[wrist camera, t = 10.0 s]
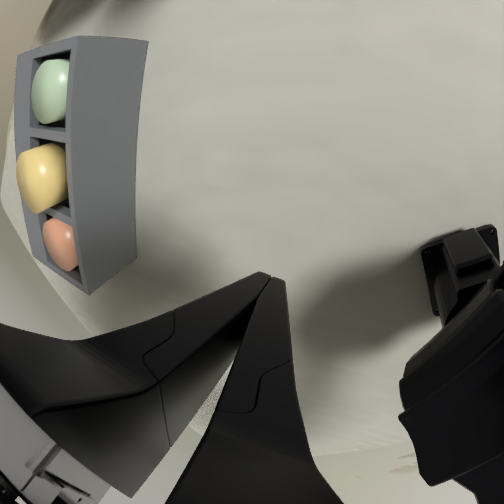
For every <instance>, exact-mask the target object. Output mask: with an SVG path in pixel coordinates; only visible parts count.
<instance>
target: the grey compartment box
mask: <svg viewBox="0 0 504 504" xmlns="http://www.w3.org/2000/svg"><path fill="white" fill-rule="evenodd" d="M147 47H148V41H145V40H137V39H127V38H116V37H101V36H76V37H72V38H68V39H64V40H61V41H57V42H54V43H51V44H48V45H44V46H41V47H38V48H35V49H33V50H30V51H27V52H24V53H22V54H19V55H18V56H17V66H16V78H15V97H14V130H15V150H16V162H17V160H18V157H19V155H20V154H21V153H22V152H25V151H27V150H30V149H33V148H36V147H39V146H42V145H45V144H48V143H51V142H57V143H59V144H60V145H62V147H63V148H64V149H65V150H66V168H67V184H68V195H69V198H67V199H66V200H64V201H62V202H60V203H58V204H56V205H54V206H52V207H50V208H48V209H46V210H44V211H42V212H40V213H37V214H36V213H33V212H32V211H31V210H30V209H29V208H28V207H27V205H26V204H25V202H24V200H23V198H22V196H21V201H22V207H23V213H24V218H25V223H26V228H27V233H28V237H29V241H30V246H31V250H32V254H33V256H34V257H35V258H36V259H38V260H39V261H40V262H42V263H43V264H44V265H46V266H47V267H49V268H50V269H51V270H53V271H54V272H56V273H57V274H58V275H60V276H61V277H63V278H64V279H66V280H67V281H68V282H70V283H71V284H73V285H74V286H76V287H77V288H79V289H80V290H82V291H83V292H85V293H86V294H88V295H90V294H91V293H93V292H94V291H95V290H96V289H98V288H99V287H100V286H101V285H102V284H104V283H105V282H106V281H107V280H109V279H110V278H111V277H112V276H114V275H115V274H116V273H117V272H119V271H120V270H121V269H123V268H124V267H125V266H126V265H128V264H129V263H130V262H132V261H133V260H134V259H135V258H137V254H136V228H135V174H136V149H137V132H138V119H139V108H140V98H141V89H142V81H143V73H144V66H145V59H146V53H147ZM68 58H70V62H69V71H68V82H67V97H66V119H63V120H59V121H55V122H51V123H47V124H43V123H41V122H39V121H38V119H37V118H36V116H35V114H34V111H33V108H32V101H31V91H32V84H33V80H34V77H35V74H36V72H37V70H38V68H39V67H40V65H41V64H42V63H43V62H45V61H47V60H55V59H68ZM20 195H21V193H20ZM53 217H54V218H56V219H58V220H60V221H62V222H64V223H66V224H68V225H70V226H71V227H72V229H73V236H74V242H75V248H76V254H77V259H78V264H79V265H78V266H76V267H75V268H73V269H72V270H71V271H65V270H63V269H61V268H60V267H59V266H58V265H57V264H56V263H55V262H54V260H53V259H52V257H51V256H50V254H49V252H48V250H47V248H46V245H45V242H44V238H43V225H44V223H45V222H46V221H48V220H50V219H52V218H53Z"/></svg>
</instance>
